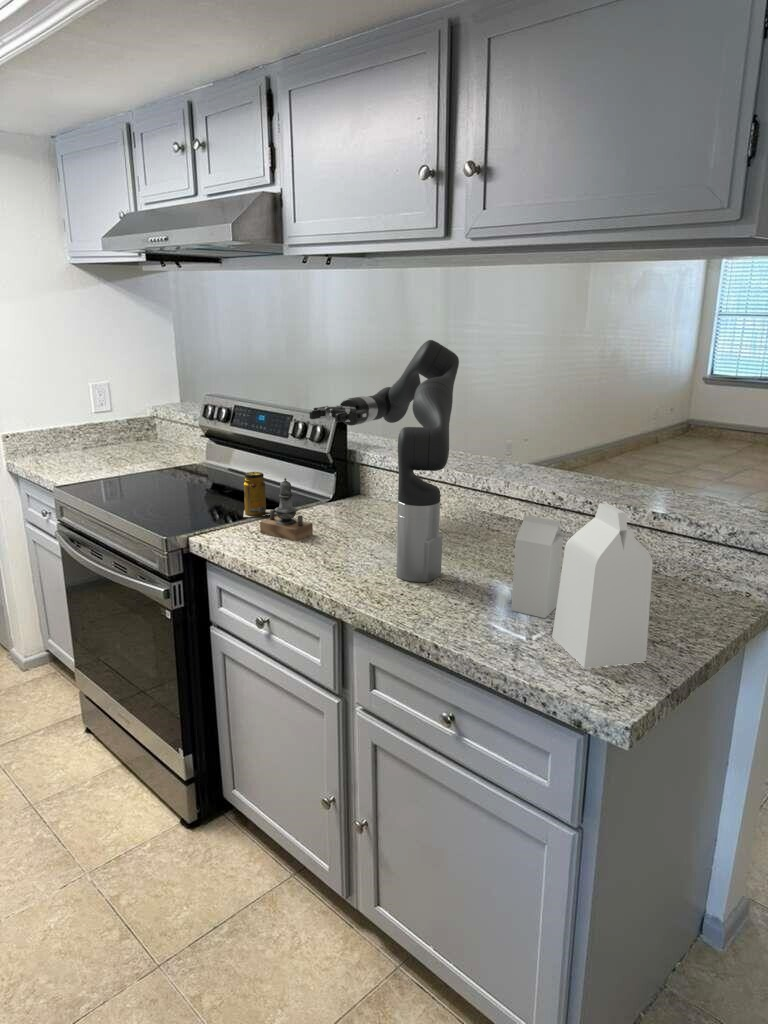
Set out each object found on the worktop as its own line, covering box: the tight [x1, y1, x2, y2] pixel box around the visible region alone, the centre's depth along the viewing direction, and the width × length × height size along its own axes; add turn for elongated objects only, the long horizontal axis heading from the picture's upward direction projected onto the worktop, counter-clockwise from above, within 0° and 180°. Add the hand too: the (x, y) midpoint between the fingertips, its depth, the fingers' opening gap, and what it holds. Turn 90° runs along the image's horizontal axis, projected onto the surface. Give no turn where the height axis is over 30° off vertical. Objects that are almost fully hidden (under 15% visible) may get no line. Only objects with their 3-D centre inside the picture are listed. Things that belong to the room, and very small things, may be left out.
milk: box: [551, 502, 653, 668], centre depth 123 cm, size 12×12×26 cm
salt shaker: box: [274, 477, 298, 525], centre depth 187 cm, size 6×6×12 cm
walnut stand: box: [259, 509, 313, 542], centre depth 189 cm, size 12×7×6 cm, turn 57°
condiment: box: [243, 471, 271, 518], centre depth 206 cm, size 7×8×12 cm
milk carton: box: [510, 514, 564, 619], centre depth 141 cm, size 7×7×19 cm
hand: (323, 416), depth 189 cm, fingers open, 8 cm apart
